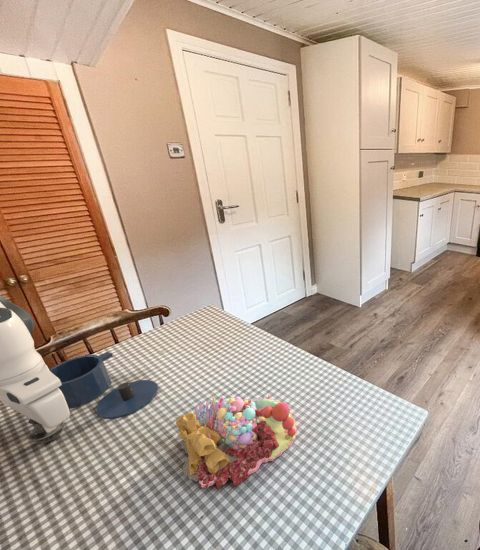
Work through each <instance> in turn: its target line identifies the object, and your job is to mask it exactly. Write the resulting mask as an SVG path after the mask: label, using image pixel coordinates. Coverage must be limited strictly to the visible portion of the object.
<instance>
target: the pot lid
mask: <svg viewBox="0 0 480 550" xmlns="http://www.w3.org/2000/svg"><path fill="white" fill-rule="evenodd" d="M158 392H159V386H158V384H157V382H156V381H153V380H150V379H140V380H139V379H138V380H134V381H131V382H128V381H127V382H126V381H125V382H123V383H121V384H119V385H118V386H117V387H116V388H114V389H113V390H111V391H110V392H108V393H107V394H105V395H104V396H103V397H102V398H101V399H100V400H99V402H98V403H97V405H96V409H95V411H96V414H97V416H99V417H100V418H102V419H107V420H112V419H114V420H115V419H119V418H123V417H126V416H129V415H131V414H134V413H136V412H138V411H139V410H141V409H143V408H144V407H146V406H147V405H148V404H150V403H151V402H152V401H153V400H154V399H155V398H156V396H157V394H158Z"/></svg>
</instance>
